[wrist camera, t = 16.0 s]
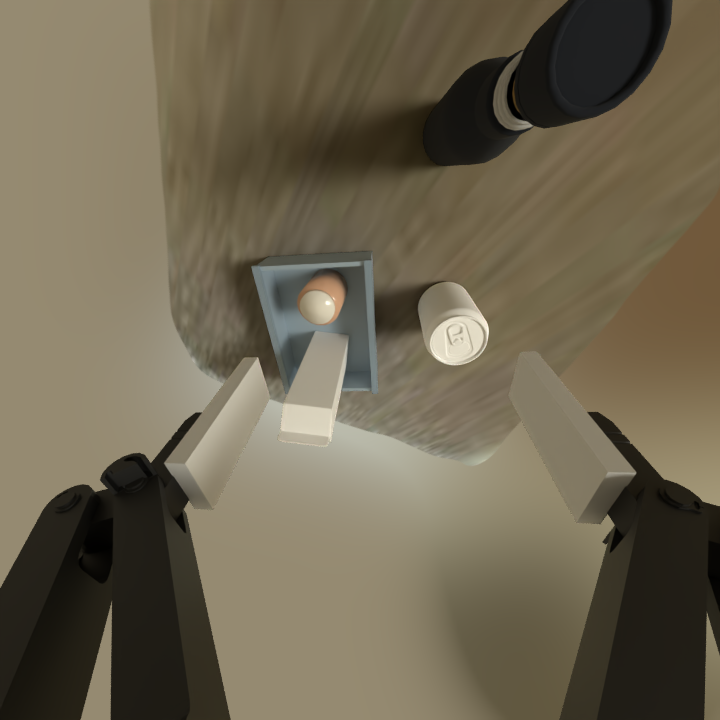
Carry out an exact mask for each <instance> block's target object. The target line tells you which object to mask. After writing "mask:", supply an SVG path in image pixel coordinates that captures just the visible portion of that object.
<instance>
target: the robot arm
mask: <svg viewBox="0 0 720 720" xmlns="http://www.w3.org/2000/svg"><path fill="white" fill-rule="evenodd" d="M508 397H509V399H510V400H511V402H512V404H513V406H514V408H515V410H516V412H517V413H518V415H519V417H520V419H521V421H522V423H523V425H524V426H525V428H526V430H527V432H528V434H529V436H530V438H531V440H532V441H533V443H534V445H535V447H536V449H537V450H538V452H539V454H540V456H541V458H542V460H543V462H544V464H545V466H546V467H547V469H548V471H549V473H550V475H551V477H552V479H553V481H554V482H555V484H556V486H557V488H558V489H559V492H560V494H561V495H562V497H563V499H564V501H565V503H566V505H567V507H568V508H569V510H570V512H571V514H572V516H573V518H574V520H575V522H576V523H592V524H601V522H602V521H603V520H604V518H605V517H606V515H607V514H608V515H609V516H610V518H611V520H612V521H613V523H614V524H615V526H614V527H613V529H612V530H611V531H610V532H609V534H608V535H607V536H606V538H605V539H604V541H603V543H605V544H607V543H608V544H607V548H606V551H605V556H604V559H603V562H602V566H601V569H600V573H599V577H598V581H597V584H596V588H595V591H594V595H593V599H592V602H591V606H590V610H589V613H588V617H587V621H586V624H585V628H584V632H583V635H582V639H581V643H580V646H579V650H578V654H577V657H576V661H575V664H574V668H573V672H572V675H571V679H570V683H569V686H568V690H567V694H566V697H565V701H564V705H563V708H562V712H561V716H560V719H559V720H704V703H705V662H706V619H707V618H706V617H707V613H708V617H709V620H710V623H711V627H712V630H713V634H714V637H715V641H716V644H717V647H718V651H719V654H720V506H716V505H712V504H709V503H705V502H702V500H701V499H700V498H699V497H698V496H696V495H695V494H694V493H693V492H691V491H690V490H688V489H686V488H685V487H683V486H681V485H679V484H677V483H674V482H671V481H668V480H664V479H663V478H662V477H661V476H660V475H659V474H658V472H657V471H656V470H655V469H654V468H653V467H652V466H651V465H650V463H649V462H648V461H647V460H646V459H645V458H644V457H643V456H642V455H641V453H640V452H639V451H638V450H637V449H636V448H635V447H634V446H633V445H632V444H630V441H629V440H628V439H627V438H626V437H625V436H624V435H622V432H621V431H620V430H619V429H618V428H617V427H616V426H615V425H614V423H613V422H612V421H610V420H609V419H607V418H606V417H604V416H603V415H602V414H600V413H598V412H586V411H585V410H584V408H583V407H582V406H581V405H580V403H579V402H578V401H577V400H576V398H575V397H574V396H573V395H572V394H571V392H570V391H569V390H568V389H567V388H566V387H565V385H564V384H563V383H562V381H561V380H560V379H559V378H558V377H557V375H556V374H555V373H554V372H553V371H552V369H551V368H550V367H549V366H548V364H547V363H546V362H545V361H544V360H543V358H542V357H541V356H540V355H539V354H538V352H520V355H519V358H518V362H517V366H516V370H515V373H514V377H513V381H512V385H511V388H510V392H509V396H508ZM269 399H270V395H269V392H268V388H267V385H266V382H265V379H264V376H263V372H262V369H261V366H260V363H259V359H258V357H244V358H243V359H242V361H241V362H240V363H239V365H238V366H237V367H236V369H235V370H234V371H233V373H232V374H231V375H230V377H229V378H228V379H227V381H226V382H225V383H224V385H223V386H222V387H221V389H220V390H219V391H218V393H217V394H216V395H215V396H214V398H213V399H212V400H211V402H210V403H209V404H208V406H207V407H206V408H205V410H204V411H203V412H202V413H195V414H193V415H192V416H191V417H189V418H188V419H187V420H185V421H184V423H183V424H182V425H181V427H180V428H179V429H178V431H177V432H176V433H175V434H174V435H173V436H172V439H171V440H169V441H168V443H167V444H166V445H165V446H164V448H163V449H162V450H161V452H160V453H159V454H158V455H157V456H156V458H155V459H154V460H153V461H152V463H150V462H149V460H148V459H147V457H146V456H145V455H144V454H141V453H133V454H130V455H127V456H124V457H122V458H120V459H118V460H116V461H115V462H113V463H112V464H111V465H110V466H109V467H107V469H106V470H105V471H104V472H103V474H102V476H101V479H100V481H101V482H102V483H103V484H104V485H105V486H106V487H107V488H108V489H106V490H102V491H98V492H95V491H94V490H92V488H91V487H90V486H89V485H77V486H74V487H71V488H69V489H67V490H65V491H63V492H62V493H60V494H59V495H57V496H56V497H55V498H53V499H52V500H51V501H50V502H49V503H48V504H47V506H46V507H45V508H44V510H43V511H42V513H41V515H40V517H39V519H38V520H37V522H36V524H35V526H34V528H33V529H32V531H31V533H30V535H29V537H28V539H27V541H26V542H25V544H24V546H23V548H22V550H21V552H20V554H19V555H18V557H17V559H16V561H15V562H14V564H13V566H12V568H11V570H10V572H9V574H8V575H7V577H6V579H5V581H4V583H3V584H2V586H1V588H0V720H80V719H81V716H82V712H83V707H84V704H85V700H86V697H87V692H88V689H89V685H90V681H91V678H92V674H93V670H94V666H95V662H96V658H97V654H98V651H99V647H100V643H101V640H102V636H103V632H104V628H105V624H106V621H107V616H108V613H109V609H110V605H111V602H112V652H111V655H112V656H111V720H230V715H229V710H228V706H227V701H226V696H225V691H224V687H223V682H222V677H221V673H220V668H219V664H218V659H217V654H216V650H215V645H214V640H213V636H212V631H211V626H210V622H209V617H208V612H207V607H206V603H205V598H204V594H203V589H202V584H201V580H200V575H199V570H198V566H197V561H196V556H195V552H194V547H193V542H192V538H191V533H190V528H189V524H188V519H187V515H186V513H185V511H184V508H185V506H186V504H187V503H188V501H190V503H191V504H192V506H193V507H194V509H211V510H213V509H214V507H215V505H216V503H217V501H218V499H219V497H220V495H221V493H222V491H223V489H224V487H225V485H226V483H227V482H228V480H229V477H230V476H231V474H232V472H233V470H234V468H235V466H236V464H237V462H238V460H239V458H240V456H241V454H242V452H243V450H244V448H245V446H246V444H247V442H248V440H249V438H250V436H251V434H252V432H253V431H254V429H255V426H256V425H257V422H258V421H259V418H260V416H261V415H262V413H263V411H264V409H265V407H266V405H267V403H268V401H269Z"/></svg>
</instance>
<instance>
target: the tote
mask: <svg viewBox="0 0 720 720" xmlns="http://www.w3.org/2000/svg"><path fill="white" fill-rule="evenodd" d="M251 268H252V272H253V275H254V279H255V283H256V286H257V290H258V294H259V298H260V301H261V305H262V309H263V312H264V316H265V320H266V323H267V327H268V331H269V335H270V338H271V342H272V346H273V349H274V353H275V357H276V361H277V364H278V368H279V372H280V375H281V379H282V383H283V386H284V390H285V394H288V392H289V389H290V387H291V385H292V383H293V380H294V378H295V376H296V374H297V371H298V369H299V367H300V364H301V362H302V360H303V358H304V355H305V353H306V351H307V349H308V346H309V344H310V342H311V339H312V337H313V335H314V333H315V331H321V332H329V333H338V334H346V335H349V342H348V354H347V364H346V369H345V374H344V379H343V384H342V389H341V391H372V394H378V379H377V376H378V368H377V347H376V325H375V303H374V282H373V260H372V251H362V252H344V253H326V254H308V255H291V256H273V257H267V258H266V259H264V260H263V261H262V262H260V263H259V264H258V265H253V266H251ZM322 269H333V270H336V271H338V272H339V273H340V274H341V275H342V276H343V277H344V278H345V280H346V282H347V285H348V292H347V296H346V298H345V300H344V303H343V305H342V308H341V310H340V312H339V315H338V317H337V318H336V319H335V320H334V321H333V322H332V323H330V324H327V325H315V324H312V323H310V322H309V321H307V320H306V319H305V318H304V317H303V316H302V315H301V313H300V312H299V309H298V306H297V299H298V296H299V294H300V292H301V291H302V290H303V288H304V287H305V286H306V284H307V283H308V282H309V280H310V279H311V278H312V277H313V275H314V274H315V273H316V272H317V271H319V270H322Z"/></svg>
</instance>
